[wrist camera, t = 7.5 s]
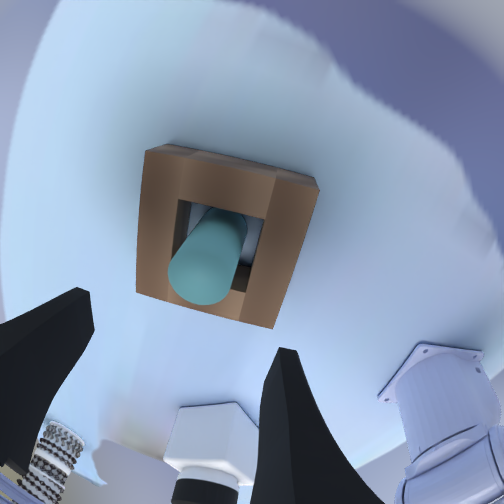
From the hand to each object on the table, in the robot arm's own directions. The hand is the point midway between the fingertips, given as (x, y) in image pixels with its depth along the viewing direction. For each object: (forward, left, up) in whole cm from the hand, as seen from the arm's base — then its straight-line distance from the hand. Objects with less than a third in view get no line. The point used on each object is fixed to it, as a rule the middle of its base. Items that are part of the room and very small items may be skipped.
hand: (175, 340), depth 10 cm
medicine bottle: (-3, +22, -10) cm, 25 cm away
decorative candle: (+25, +50, -10) cm, 57 cm away
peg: (0, 0, -10) cm, 10 cm away
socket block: (0, 0, -10) cm, 10 cm away
